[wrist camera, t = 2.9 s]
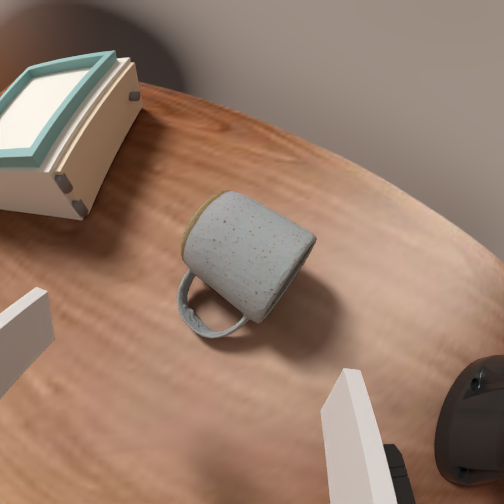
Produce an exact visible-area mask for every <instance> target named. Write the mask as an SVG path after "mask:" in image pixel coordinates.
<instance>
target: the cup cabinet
mask: <svg viewBox="0 0 504 504" xmlns="http://www.w3.org/2000/svg"><path fill="white" fill-rule="evenodd" d="M142 107H143V103H142V98H141V93H140V88H139V83H138V78H137V73H136V68H135V63H131V62H130V58H119V59H117V58H116V53H115V51H106V52H99V53H92V54H85V55H79V56H74V57H69V58H64V59H59V60H55V61H50V62H46V63H42V64H38V65H34V66H30V67H28V68H27V69H26V70H25V71H24V72H23V73H22V74H21V75H20V76H19V77H18V78H17V79H16V80H15V81H14V82H13V84H12V85H11V86H10V87H9V88H8V89H7V90H6V91H5V92H4V94H3V95H2V96H1V97H0V209H1V210H9V211H16V212H24V213H31V214H39V215H46V216H53V217H61V218H68V219H75V220H83V218H84V217H85V216H86V215H87V214H88V215H89V212H90V210H91V208H92V205H93V203H94V200H95V198H96V196H97V193H98V191H99V189H100V187H101V185H102V182H103V180H104V178H105V176H106V174H107V172H108V170H109V167H110V165H111V163H112V161H113V159H114V157H115V155H116V153H117V151H118V150H119V148H120V146H121V144H122V142H123V140H124V138H125V136H126V134H127V133H128V131H129V129H130V127H131V125H132V124H133V122H134V120H135V119H136V117H137V115H138V113H139V112H140V110H141V108H142Z"/></svg>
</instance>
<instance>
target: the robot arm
mask: <svg viewBox="0 0 504 504" xmlns="http://www.w3.org/2000/svg"><path fill="white" fill-rule="evenodd" d="M54 340H55V334H54V329H53V323H52V318H51V312H50V305H49V298H48V291H45V290H43V289H40V288H38V287H36V288H34V289H33V290H31V291H30V292H29V293H27V294H26V295H25V296H23V297H22V298H20V299H19V300H18V301H16V302H15V303H14V304H12V305H11V306H10V307H8V308H7V309H6V310H4V311H3V312H2V313H0V399H1V397H2V396H3V395H4V394H5V393H6V392H7V391H8V389H9V388H10V387H11V386H12V385H13V384H14V383H15V382H16V380H17V379H18V378H19V377H20V376H21V375H22V374H23V373H24V372H25V371H26V369H27V368H28V367H29V366H30V365H31V364H32V363H33V362H34V361H35V360H36V359H37V358H38V357H39V356H40V355H41V353H42V352H43V351H44V350H45V349H46V348H47V347H48V346H49V345H50V344H51V343H52V342H53V341H54ZM320 412H321V420H322V428H323V436H324V445H325V454H326V463H327V473H328V483H329V494H330V504H415V500H414V496H413V492H412V488H411V485H410V481H409V477H407V475H408V474H407V470H406V468H405V464H404V460H403V457H402V454H401V453H400V451H399V450H398V449H397V447H396V446H395V445H394V444H382V440H381V437H380V433H379V430H378V426H377V423H376V419H375V416H374V413H373V409H372V406H371V403H370V399H369V396H368V393H367V390H366V387H365V384H364V380H363V377H362V374H361V371H360V370H355V369H347V368H343V370H342V372H341V374H340V376H339V378H338V380H337V382H336V383H335V385H334V387H333V389H332V391H331V393H330V395H329V396H328V398H327V400H326V402H325V404H324V405H323V407H322V409H321V411H320ZM435 458H436V463H437V466H438V469H439V471H440V473H441V474H442V476H443V477H444V478H445V479H447V480H448V481H450V482H453V483H456V484H460V485H465V486H474V485H480V484H485V483H489V482H494V481H498V480H502V479H504V355H494V356H490V357H485V358H481V359H478V360H476V361H474V362H473V363H471V364H470V365H469V366H467V367H466V368H465V369H464V370H463V371H462V372H461V374H460V375H459V376H458V378H457V379H456V380H455V382H454V383H453V385H452V387H451V389H450V391H449V392H448V395H447V397H446V399H445V401H444V404H443V406H442V409H441V412H440V416H439V419H438V424H437V428H436V435H435Z"/></svg>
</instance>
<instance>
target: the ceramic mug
mask: <svg viewBox="0 0 504 504" xmlns="http://www.w3.org/2000/svg"><path fill="white" fill-rule="evenodd" d="M316 240H317V238H316V236H315V235H314V234H313V233H311V232H309V231H308V230H306V229H304V228H302V227H301V226H299V225H297V224H296V223H294V222H292V221H290V220H289V219H287V218H285V217H284V216H282V215H280V214H278V213H277V212H275V211H273V210H271V209H269V208H267V207H266V206H264V205H262V204H261V203H259V202H257V201H256V200H254V199H252V198H250V197H248V196H246V195H243V194H240V193H237V192H234V191H229V190H228V191H222V192H220V193H217V194H215V195H213V196H212V197H210V198H209V199H208V200H207V201H205V202H204V203H203V204H202V206H201V207H200V208H199V209H198V210H197V211H196V213H195V214H194V216H193V217H192V219H191V220H190V222H189V224H188V226H187V228H186V230H185V232H184V235H183V238H182V243H181V256H182V259H183V261H184V262H185V264H186V265H187V266H188V268H189V269H188V271H187V272H186V273H185V275H184V277H183V278H182V280H181V283H180V285H179V288H178V292H177V306H178V310H179V313H180V315H181V317H182V319H183V321H184V322H185V323H186V324H187V326H189V327H190V328H191V329H192V330H193V331H194V332H195V333H197V334H199V335H200V336H202V337H207V338H220V337H225V336H227V335H230V334H232V333H233V332H235V331H236V330H238V329H239V328H241V327H242V326H243V325H244V324H246V323H247V322H248V321H249V320H252V321H254V322H255V323H261V322H262V321H263V320H264V319H265V318H266V316H267V315H268V314H269V313H270V312H271V310H272V309H273V308H274V306H275V305H276V303H277V302H278V301H279V300H280V298H281V297H282V296H283V294H284V293H285V291H286V290H287V289H288V287H289V286H290V284H291V283H292V281H293V280H294V278H295V277H296V275H297V274H298V272H299V271H300V269H301V267H302V266H303V265H304V263H305V261H306V259H307V258H308V256H309V254H310V252H311V250H312V248H313V246H314V244H315V242H316ZM195 276H197V277H199V278H200V279H201V280H202V281H204V282H205V283H206V284H208V285H209V286H210V287H211V288H213V289H214V290H215V291H216V292H218V293H219V294H220V295H221V296H222V297H223V298H225V299H226V300H227V301H228V302H230V303H231V304H232V305H233V306H235V307H236V308H237V309H238V310H240V311H241V312H242V313H243V318H242V319H241V320H240V321H239V322H238V323H237V324H235V325H234V326H232V327H230V328H229V329H227V330H224V331H217V332H216V331H214V330H211V329H209V328H208V327H207V326H206V325H205V324H204V323H203V322H202V321H201V320H199V318H198V317H197V316H196V315H195V313H194V310H192V309H191V308H189V307H188V301H187V295H188V291H189V287H190V285H191V283H192V281H193V279H194V277H195Z"/></svg>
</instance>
